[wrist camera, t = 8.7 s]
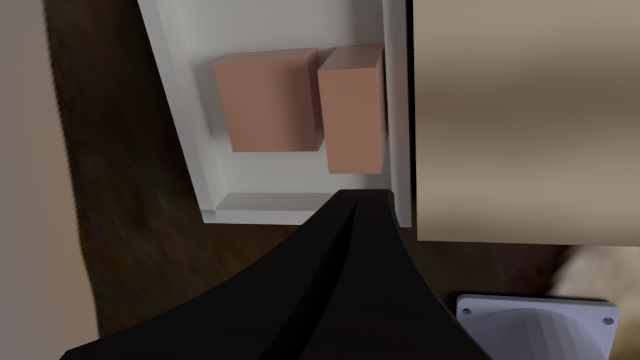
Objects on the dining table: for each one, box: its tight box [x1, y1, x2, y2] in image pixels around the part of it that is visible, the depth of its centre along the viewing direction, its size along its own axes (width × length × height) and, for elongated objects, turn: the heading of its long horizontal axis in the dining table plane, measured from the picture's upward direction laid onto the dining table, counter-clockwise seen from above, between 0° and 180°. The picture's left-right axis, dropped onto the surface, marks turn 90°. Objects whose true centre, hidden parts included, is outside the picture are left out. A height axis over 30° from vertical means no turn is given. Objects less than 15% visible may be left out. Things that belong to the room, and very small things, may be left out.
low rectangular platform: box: [413, 0, 640, 247], centre depth 15 cm, size 12×15×4 cm
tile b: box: [213, 47, 325, 152], centre depth 19 cm, size 4×4×2 cm
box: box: [138, 0, 413, 227], centre depth 19 cm, size 12×11×2 cm
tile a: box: [317, 43, 389, 174], centre depth 17 cm, size 4×4×2 cm
